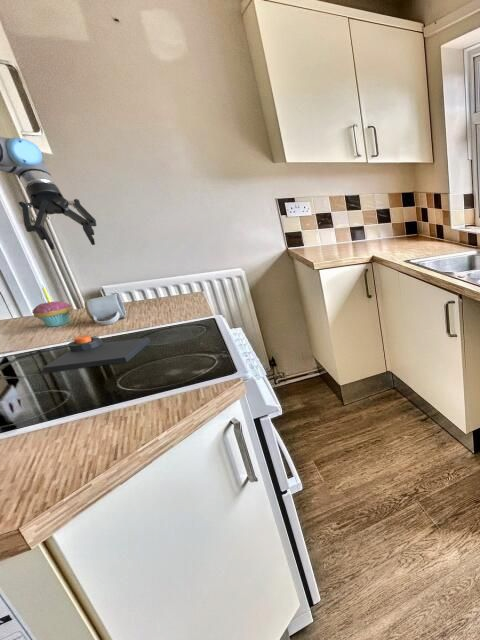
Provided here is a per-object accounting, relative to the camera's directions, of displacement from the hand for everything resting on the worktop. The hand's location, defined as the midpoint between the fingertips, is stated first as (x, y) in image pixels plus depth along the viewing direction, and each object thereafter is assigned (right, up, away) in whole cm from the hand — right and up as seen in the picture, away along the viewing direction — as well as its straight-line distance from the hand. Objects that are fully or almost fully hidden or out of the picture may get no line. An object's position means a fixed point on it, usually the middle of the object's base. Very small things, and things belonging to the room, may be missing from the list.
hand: (72, 244), depth 133 cm
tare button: (+27, -31, -23) cm, 47 cm away
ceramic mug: (+11, -24, +1) cm, 27 cm away
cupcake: (-3, -25, -1) cm, 26 cm away
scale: (+34, -35, -25) cm, 54 cm away
